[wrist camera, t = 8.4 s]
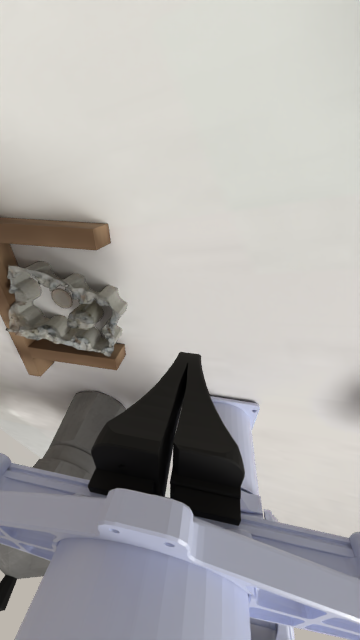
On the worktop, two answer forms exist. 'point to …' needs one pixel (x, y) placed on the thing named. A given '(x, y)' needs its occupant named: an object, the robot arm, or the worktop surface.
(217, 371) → the worktop surface
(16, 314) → the egg carton
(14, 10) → the worktop surface
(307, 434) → the worktop surface
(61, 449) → the coffeepot
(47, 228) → the walnut bracket
